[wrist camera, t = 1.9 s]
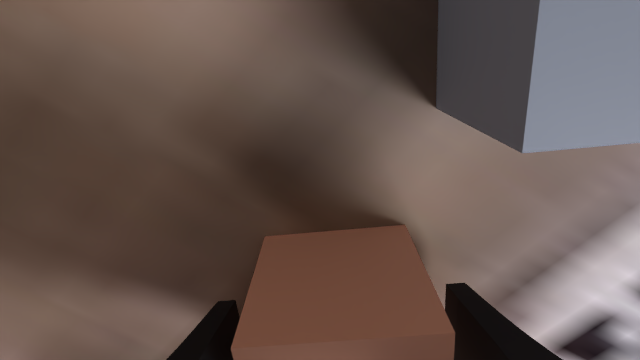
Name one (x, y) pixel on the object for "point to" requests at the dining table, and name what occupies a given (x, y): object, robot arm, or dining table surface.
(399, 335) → the terracotta block
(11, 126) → the dining table surface
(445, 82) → the slate block
